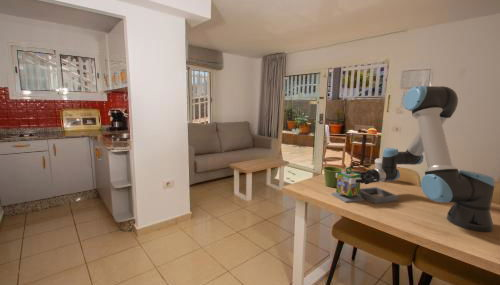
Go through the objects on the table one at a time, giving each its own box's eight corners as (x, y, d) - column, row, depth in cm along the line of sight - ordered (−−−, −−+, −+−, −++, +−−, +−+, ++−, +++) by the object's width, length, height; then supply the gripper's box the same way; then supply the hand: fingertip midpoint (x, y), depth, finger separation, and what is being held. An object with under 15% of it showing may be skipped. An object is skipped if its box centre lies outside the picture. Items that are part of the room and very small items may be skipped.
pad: (364, 200, 131) (364, 198, 131) (345, 202, 127) (345, 200, 127) (348, 192, 142) (349, 191, 142) (331, 194, 139) (331, 192, 138)
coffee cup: (390, 182, 164) (392, 161, 162) (375, 181, 165) (377, 160, 163) (384, 178, 173) (387, 158, 171) (370, 177, 175) (372, 157, 172)
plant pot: (318, 185, 155) (319, 168, 154) (327, 181, 163) (329, 165, 161) (335, 190, 147) (336, 172, 145) (344, 186, 154) (346, 169, 153)
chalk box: (349, 197, 128) (352, 170, 126) (335, 192, 136) (337, 166, 134) (360, 194, 133) (362, 168, 131) (345, 189, 141) (347, 164, 138)
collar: (397, 201, 131) (398, 195, 130) (375, 203, 126) (376, 198, 126) (375, 191, 145) (376, 187, 145) (355, 193, 141) (355, 189, 140)
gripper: (391, 188, 128) (357, 191, 121) (359, 176, 150) (329, 178, 143) (392, 174, 127) (358, 177, 120) (360, 164, 149) (330, 166, 142)
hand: (342, 178), depth 132 cm, fingers closed on chalk box, 11 cm apart
